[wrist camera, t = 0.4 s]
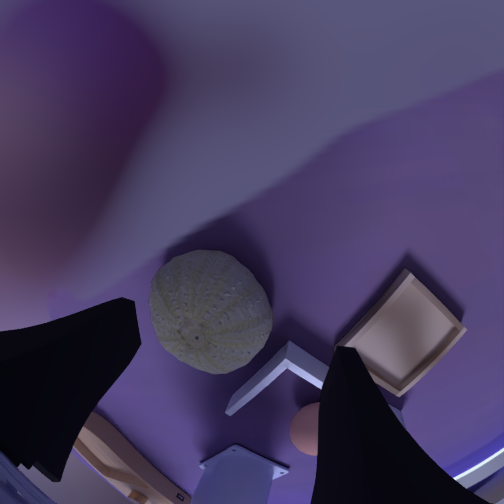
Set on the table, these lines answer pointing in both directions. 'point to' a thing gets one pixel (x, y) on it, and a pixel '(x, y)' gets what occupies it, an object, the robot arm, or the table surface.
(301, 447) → the ball
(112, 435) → the lamp
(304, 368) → the white u-shaped arch
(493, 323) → the table surface
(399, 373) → the tray
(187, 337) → the sea urchin shell
